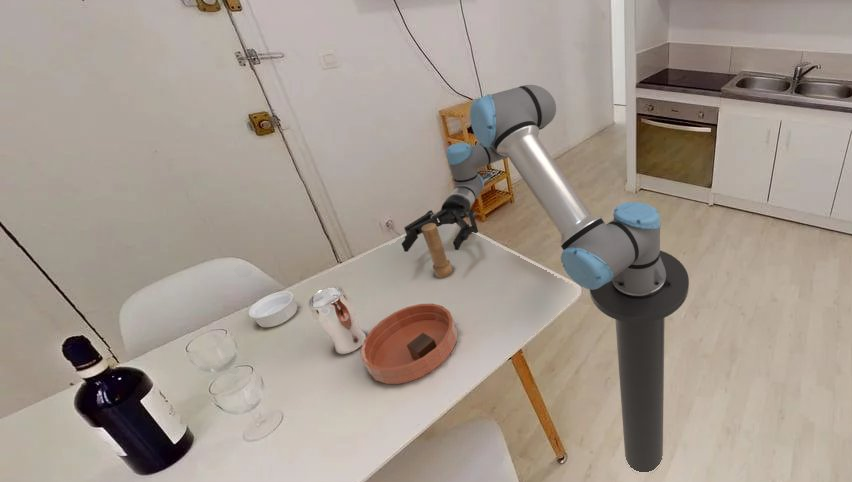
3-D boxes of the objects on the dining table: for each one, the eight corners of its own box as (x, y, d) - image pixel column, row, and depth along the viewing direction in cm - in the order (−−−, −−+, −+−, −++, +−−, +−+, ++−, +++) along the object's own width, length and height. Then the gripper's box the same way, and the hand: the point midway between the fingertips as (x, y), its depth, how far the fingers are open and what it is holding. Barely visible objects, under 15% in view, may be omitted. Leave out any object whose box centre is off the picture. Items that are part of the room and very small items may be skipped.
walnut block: (438, 351, 93) (434, 339, 91) (423, 364, 90) (417, 352, 88) (427, 344, 94) (422, 332, 92) (411, 357, 91) (406, 345, 89)
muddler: (454, 266, 119) (440, 221, 111) (449, 277, 115) (434, 231, 107) (438, 267, 119) (423, 222, 111) (432, 278, 115) (416, 232, 107)
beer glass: (337, 337, 97) (310, 290, 90) (370, 327, 100) (347, 281, 92) (330, 360, 92) (302, 312, 84) (366, 349, 94) (341, 302, 87)
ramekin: (260, 335, 98) (251, 323, 96) (253, 317, 104) (245, 304, 101) (304, 314, 104) (296, 302, 102) (295, 297, 109) (288, 285, 107)
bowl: (468, 317, 102) (464, 302, 100) (437, 384, 86) (431, 369, 84) (395, 318, 102) (389, 304, 100) (351, 386, 86) (342, 371, 84)
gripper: (500, 213, 130) (479, 256, 111) (421, 215, 129) (387, 259, 111) (495, 193, 126) (473, 233, 108) (414, 195, 126) (378, 237, 107)
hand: (429, 247), depth 109 cm, fingers open, 13 cm apart
